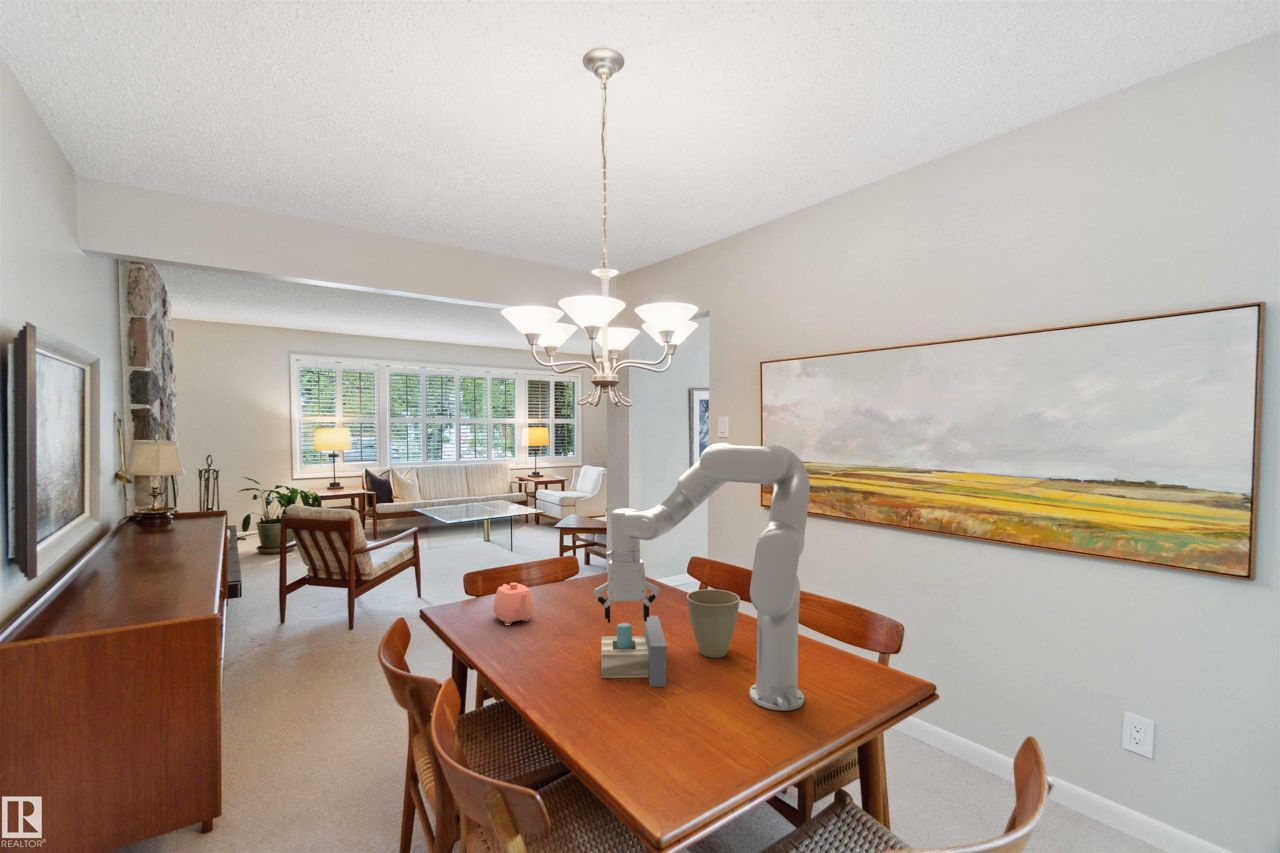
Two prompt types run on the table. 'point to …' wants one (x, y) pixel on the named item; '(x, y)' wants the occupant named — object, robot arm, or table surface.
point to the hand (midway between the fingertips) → (627, 620)
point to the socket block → (624, 658)
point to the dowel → (624, 636)
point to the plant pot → (713, 619)
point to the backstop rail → (655, 652)
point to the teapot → (513, 603)
